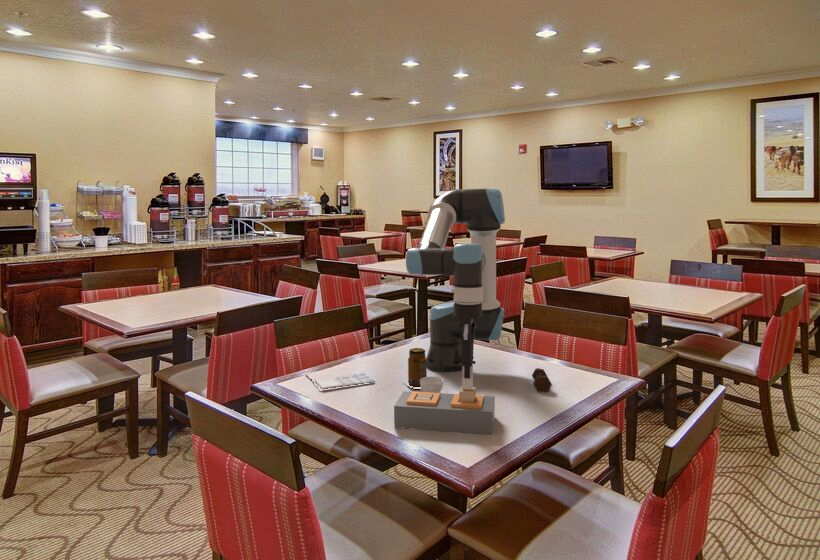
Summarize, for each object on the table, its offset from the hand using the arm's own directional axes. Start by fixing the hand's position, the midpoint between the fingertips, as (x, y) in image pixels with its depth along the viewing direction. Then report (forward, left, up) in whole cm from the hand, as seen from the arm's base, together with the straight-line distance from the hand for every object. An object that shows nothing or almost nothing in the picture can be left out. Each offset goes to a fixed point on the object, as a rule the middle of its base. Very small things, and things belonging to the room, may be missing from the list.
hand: (467, 388), depth 149 cm
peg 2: (0, 0, -7) cm, 7 cm away
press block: (0, -6, -10) cm, 12 cm away
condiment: (-29, -19, -10) cm, 37 cm away
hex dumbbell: (-37, +21, -10) cm, 44 cm away
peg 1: (0, -12, -10) cm, 16 cm away
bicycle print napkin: (-32, -47, -11) cm, 58 cm away
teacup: (-22, -13, -10) cm, 28 cm away
